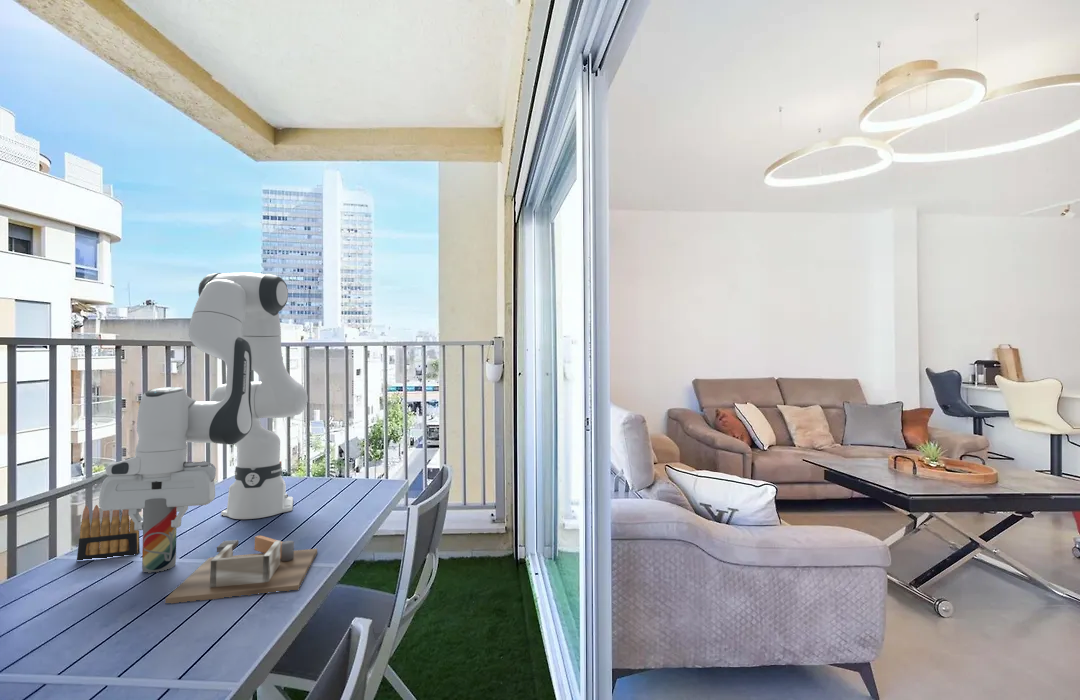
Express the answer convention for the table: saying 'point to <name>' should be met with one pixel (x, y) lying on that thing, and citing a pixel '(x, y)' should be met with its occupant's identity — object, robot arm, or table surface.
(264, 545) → the arm
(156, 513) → the lotion bottle
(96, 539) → the ammunition clip
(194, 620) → the table surface
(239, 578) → the cradle
